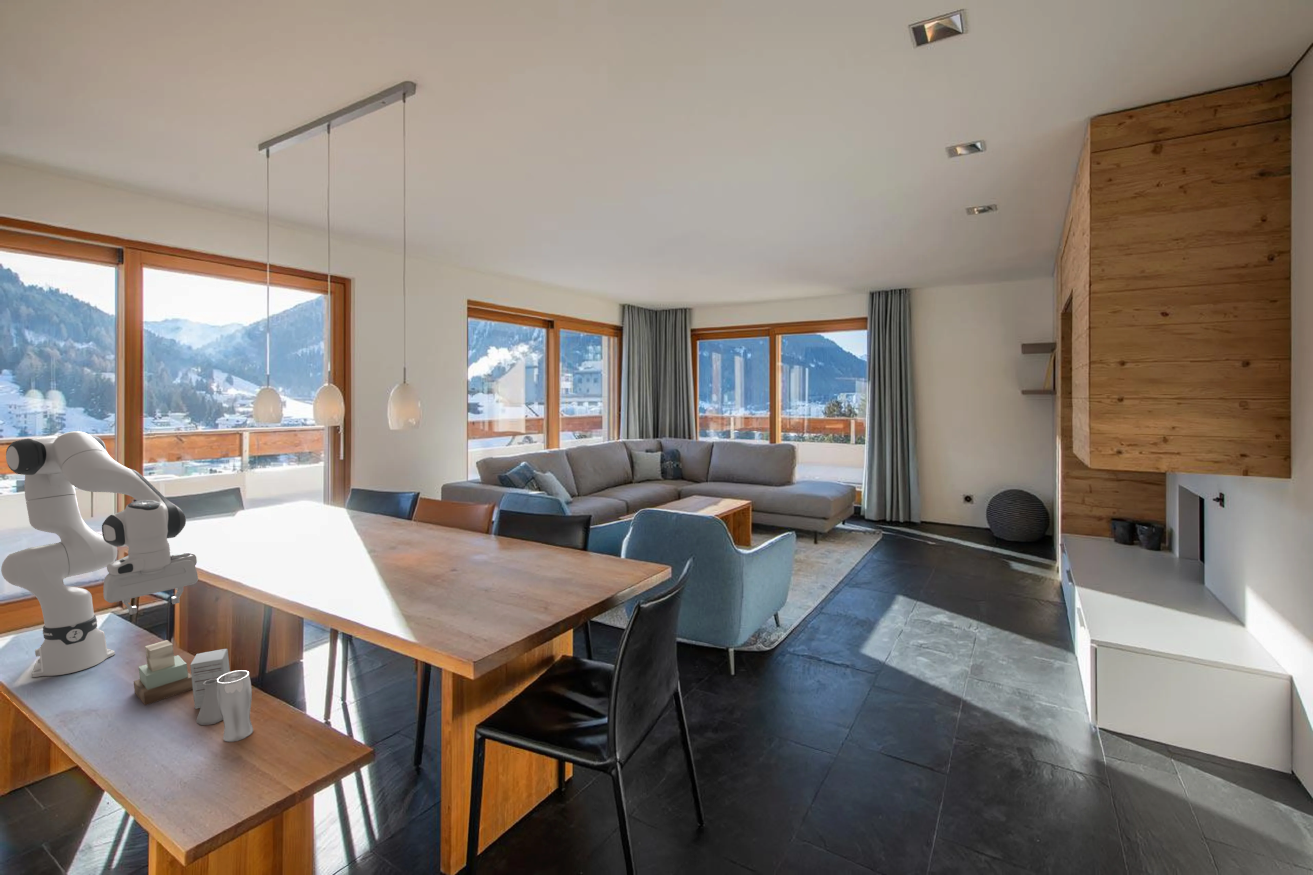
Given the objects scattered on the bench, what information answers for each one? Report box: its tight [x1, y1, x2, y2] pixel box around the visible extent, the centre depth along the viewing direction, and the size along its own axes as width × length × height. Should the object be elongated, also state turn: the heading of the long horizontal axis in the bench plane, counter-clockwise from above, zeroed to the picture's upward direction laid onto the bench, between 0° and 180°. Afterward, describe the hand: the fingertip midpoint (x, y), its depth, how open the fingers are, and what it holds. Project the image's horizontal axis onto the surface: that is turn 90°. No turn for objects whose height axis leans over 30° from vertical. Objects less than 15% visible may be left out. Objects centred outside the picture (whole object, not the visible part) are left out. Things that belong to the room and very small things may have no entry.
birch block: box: [144, 639, 175, 672], centre depth 171 cm, size 5×5×6 cm
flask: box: [195, 679, 223, 726], centre depth 158 cm, size 7×7×10 cm
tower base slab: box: [133, 671, 193, 706], centre depth 173 cm, size 11×11×4 cm
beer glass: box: [217, 669, 254, 743], centre depth 149 cm, size 7×7×15 cm
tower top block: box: [138, 654, 189, 690], centre depth 172 cm, size 9×9×4 cm
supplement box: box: [189, 648, 231, 710], centre depth 167 cm, size 7×7×13 cm
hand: (154, 608), depth 170 cm, fingers open, 8 cm apart
